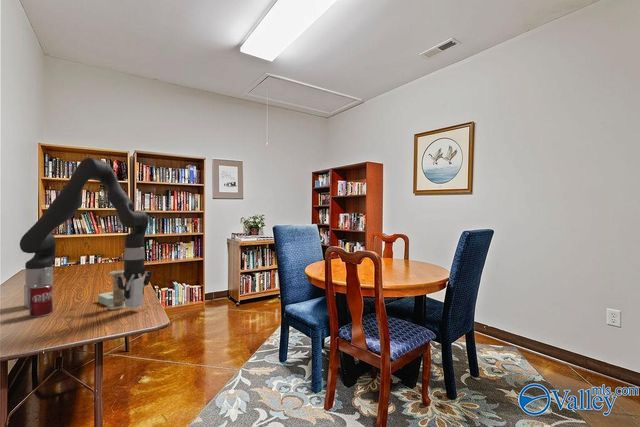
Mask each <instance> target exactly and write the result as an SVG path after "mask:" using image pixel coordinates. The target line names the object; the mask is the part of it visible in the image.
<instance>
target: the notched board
mask: <svg viewBox="0 0 640 427" xmlns="http://www.w3.org/2000/svg"><path fill="white" fill-rule="evenodd" d="M124 300H125V297H124ZM97 302H98V303H100V304H101V305H104V306H106V307H108V308H109V306H110V305H113V291H110V292H103V293H99V294H97Z"/></svg>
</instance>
